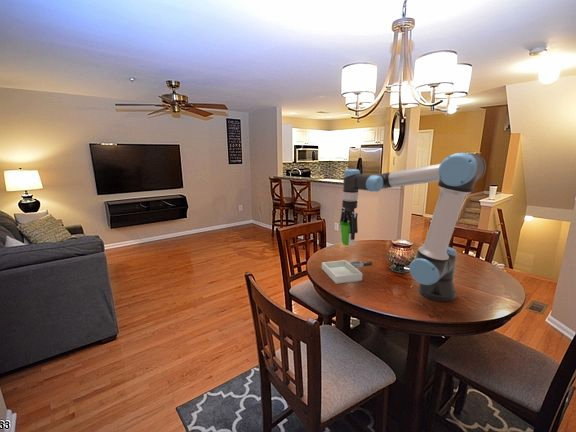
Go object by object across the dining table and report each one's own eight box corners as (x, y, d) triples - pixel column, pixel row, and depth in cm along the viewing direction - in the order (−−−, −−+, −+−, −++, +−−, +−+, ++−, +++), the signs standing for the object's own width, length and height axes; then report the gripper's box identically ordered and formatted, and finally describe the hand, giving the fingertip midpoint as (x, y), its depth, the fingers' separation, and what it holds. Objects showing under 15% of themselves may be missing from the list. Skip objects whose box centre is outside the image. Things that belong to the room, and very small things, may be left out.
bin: (362, 280, 146) (362, 273, 145) (335, 284, 142) (336, 276, 142) (345, 266, 165) (345, 260, 164) (321, 269, 161) (321, 262, 160)
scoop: (369, 263, 170) (369, 259, 170) (373, 266, 165) (373, 262, 165) (350, 265, 167) (350, 261, 167) (354, 268, 162) (354, 264, 162)
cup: (351, 247, 144) (352, 227, 141) (335, 244, 149) (336, 223, 146) (358, 243, 150) (360, 223, 148) (343, 240, 156) (344, 220, 153)
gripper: (367, 203, 135) (363, 248, 140) (347, 196, 156) (345, 235, 161) (352, 204, 133) (349, 249, 138) (334, 196, 154) (332, 236, 159)
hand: (347, 242), depth 149 cm, fingers closed on cup, 9 cm apart
